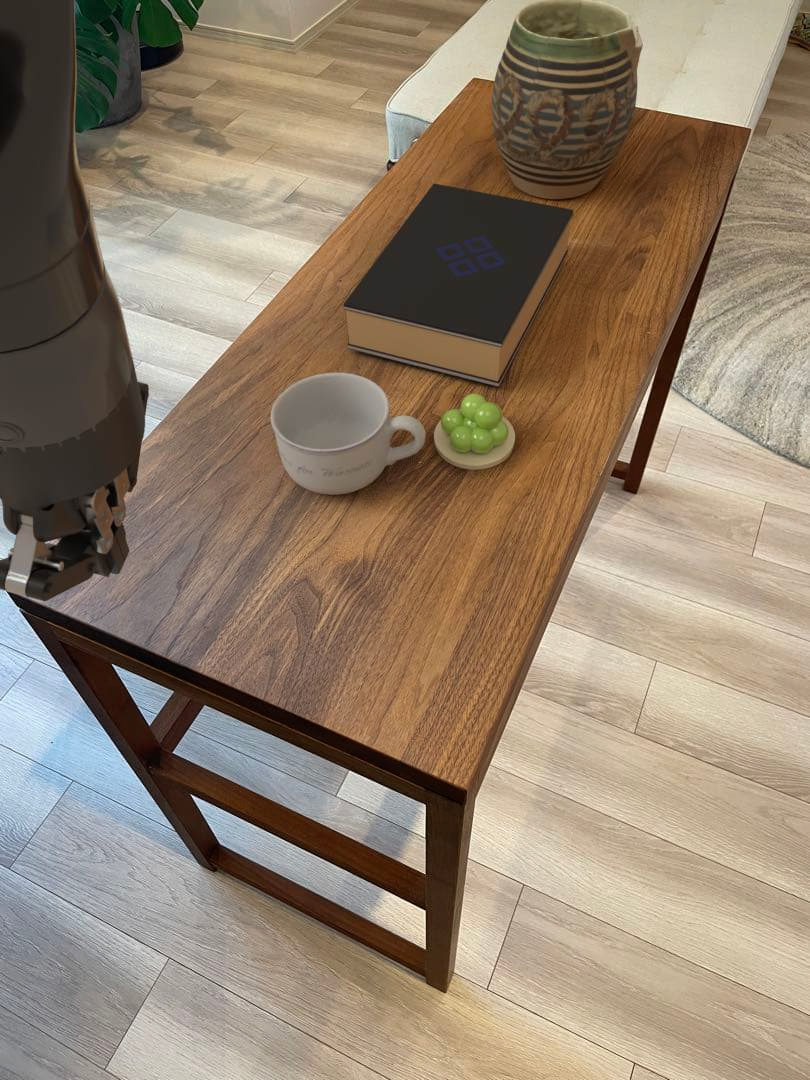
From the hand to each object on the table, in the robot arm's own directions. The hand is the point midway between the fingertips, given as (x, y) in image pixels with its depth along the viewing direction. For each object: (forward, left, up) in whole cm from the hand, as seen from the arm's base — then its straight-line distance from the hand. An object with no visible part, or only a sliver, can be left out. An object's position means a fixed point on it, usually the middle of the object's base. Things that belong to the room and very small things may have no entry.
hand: (106, 560), depth 47 cm
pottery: (+54, +68, -22) cm, 90 cm away
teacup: (+17, +23, -22) cm, 36 cm away
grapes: (+29, +24, -22) cm, 44 cm away
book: (+34, +45, -22) cm, 61 cm away
